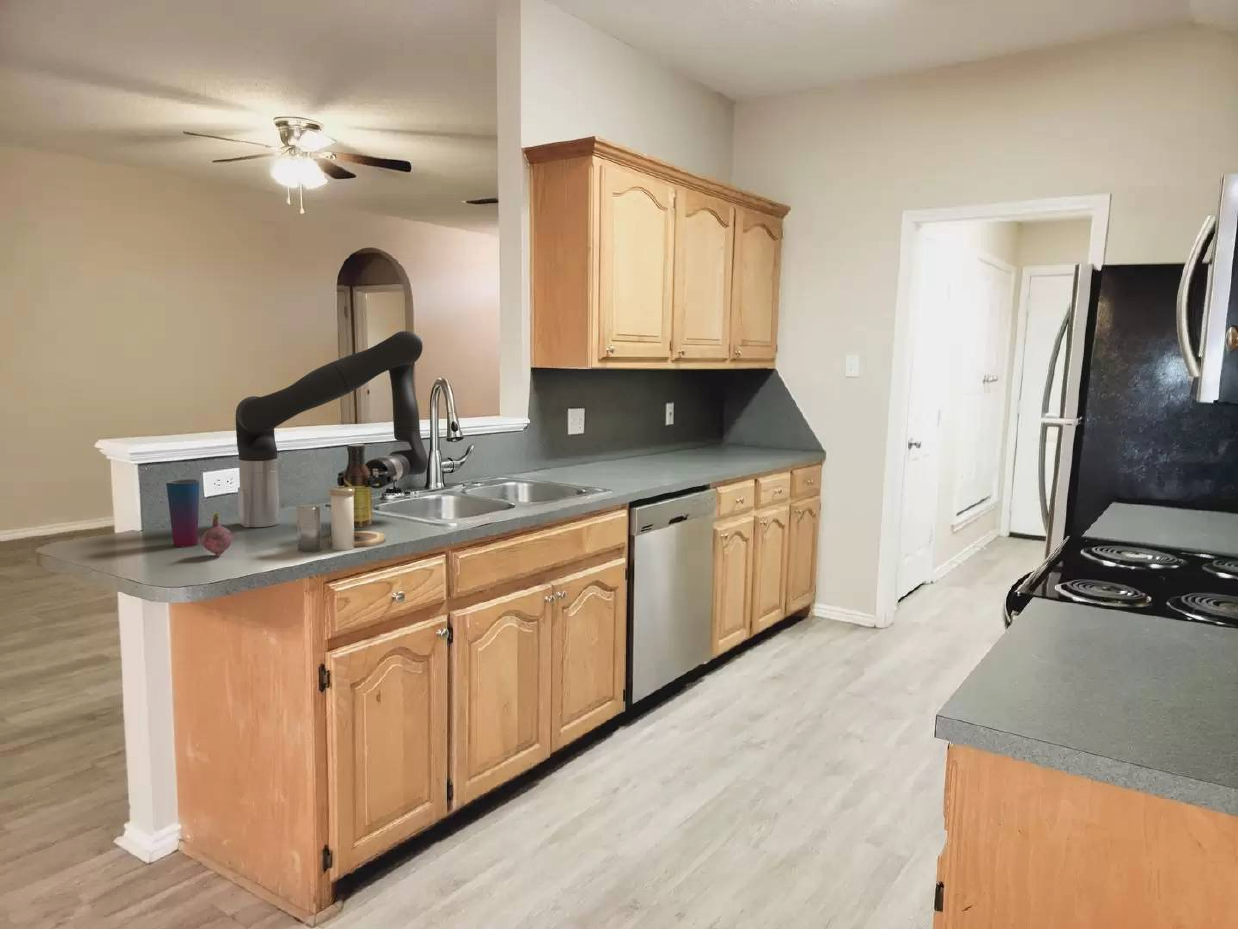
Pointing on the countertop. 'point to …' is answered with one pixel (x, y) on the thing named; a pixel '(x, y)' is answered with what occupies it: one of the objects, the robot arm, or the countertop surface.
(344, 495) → the cream jar
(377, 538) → the oak coaster
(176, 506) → the cup
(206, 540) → the vegetable
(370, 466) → the robot arm
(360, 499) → the sauce bottle
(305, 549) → the spice tin
